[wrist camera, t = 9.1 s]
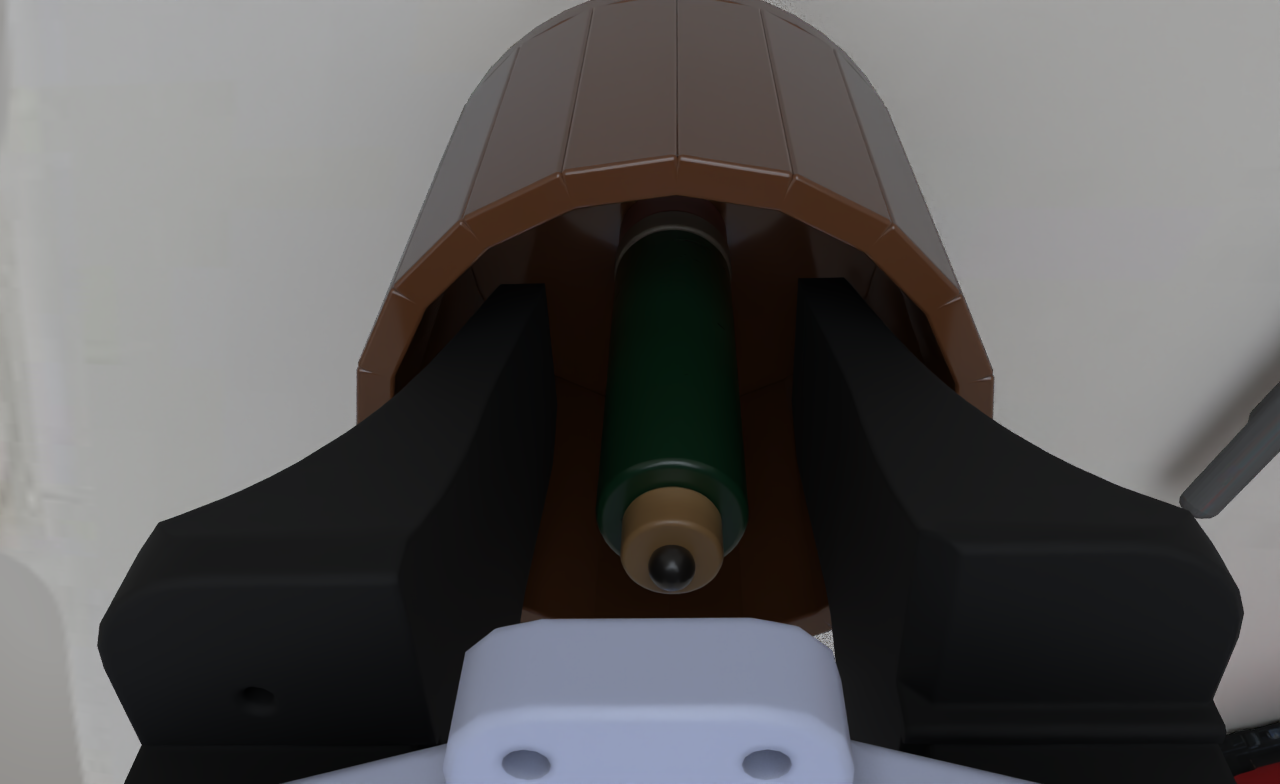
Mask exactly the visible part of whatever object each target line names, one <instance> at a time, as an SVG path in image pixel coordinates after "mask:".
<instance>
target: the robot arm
mask: <svg viewBox="0 0 1280 784" xmlns="http://www.w3.org/2000/svg"><path fill="white" fill-rule="evenodd" d="M792 410H793V422H794V434H795V444H796V455H797V463H798V468H799V472H800V477H801V481H802V486H803V490H804V495H805V499H806V504H807V508H808V513H809V517H810V521H811V526H812V530H813V534H814V539H815V543H816V547H817V552H818V556H819V561H820V565H821V569H822V574H823V578H824V582H825V587H826V592H827V598H828V603H829V609H830V615H831V623H832V632H833V641H834V650H835V658H834V655H833V652H832V650H831V649H830V648H828V647H827V646H826V645H824V644H823V643H821V642H820V641H818V640H817V639H816V638H814V637H813V636H811V635H810V634H809V633H807V632H806V631H804V630H803V629H801V628H800V627H798V626H794V625H790V624H784V623H778V622H773V621H767V620H761V619H756V618H605V619H540V620H535V621H530V622H525V623H520V621H521V614H522V608H523V602H524V596H525V590H526V585H527V581H528V576H529V572H530V567H531V563H532V558H533V554H534V549H535V545H536V540H537V536H538V531H539V527H540V522H541V517H542V513H543V508H544V504H545V499H546V494H547V490H548V485H549V480H550V476H551V471H552V466H553V456H554V444H555V431H556V418H557V396H556V386H555V377H554V367H553V357H552V348H551V338H550V328H549V319H548V309H547V299H546V289H545V283H539V284H500V285H499V286H498V287H497V288H496V289H495V290H494V291H493V292H492V294H491V295H490V296H489V297H488V298H487V299H486V300H485V302H484V303H483V304H482V305H481V306H480V307H479V309H478V310H477V311H476V312H475V313H474V315H473V316H472V317H471V318H470V319H469V320H468V322H467V323H466V324H465V325H464V326H463V327H462V328H461V330H460V331H459V332H458V333H457V334H456V335H455V336H454V337H453V338H452V339H451V341H450V342H449V343H448V344H447V345H446V346H445V347H444V348H443V349H442V350H441V351H440V352H439V353H438V354H437V356H436V357H435V358H434V359H433V360H432V361H431V362H430V363H429V364H428V365H427V366H426V367H425V368H424V369H423V370H422V371H421V372H420V373H419V374H418V375H417V376H415V377H414V378H413V379H412V380H411V381H410V382H409V383H408V384H407V385H406V386H405V387H404V388H403V389H402V390H401V391H400V392H398V393H397V394H396V395H395V396H394V397H392V398H391V399H390V400H389V401H388V402H386V403H385V404H384V405H383V406H381V407H380V408H379V409H378V410H376V411H375V412H374V413H372V414H371V415H370V416H368V417H367V418H366V419H364V420H363V421H362V422H360V423H359V424H358V425H356V426H355V427H353V428H352V429H351V430H349V431H348V432H346V433H345V434H343V435H341V436H340V437H338V438H337V439H335V440H333V441H332V442H330V443H329V444H327V445H325V446H324V447H322V448H320V449H319V450H317V451H316V452H314V453H312V454H311V455H309V456H307V457H306V458H304V459H303V460H301V461H299V462H297V463H296V464H294V465H292V466H290V467H288V468H286V469H284V470H282V471H281V472H279V473H277V474H275V475H273V476H271V477H269V478H267V479H265V480H263V481H261V482H258V483H256V484H254V485H252V486H250V487H248V488H246V489H244V490H242V491H239V492H237V493H235V494H232V495H230V496H228V497H225V498H223V499H220V500H218V501H215V502H213V503H210V504H207V505H205V506H202V507H199V508H197V509H194V510H192V511H189V512H186V513H184V514H181V515H179V516H176V517H173V518H170V519H167V520H165V521H162V522H159V523H158V524H157V526H156V527H155V529H154V530H153V532H152V533H151V535H150V536H149V538H148V539H147V541H146V542H145V544H144V545H143V547H142V548H141V550H140V551H139V553H138V555H137V557H136V559H135V560H134V562H133V564H132V566H131V568H130V570H129V571H128V573H127V575H126V577H125V579H124V580H123V582H122V584H121V586H120V588H119V590H118V591H117V593H116V595H115V597H114V599H113V601H112V602H111V604H110V606H109V608H108V610H107V612H106V613H105V615H104V617H103V619H102V621H101V623H100V626H99V635H98V644H97V646H98V650H99V653H100V656H101V660H102V663H103V667H104V669H105V671H106V673H107V675H108V677H109V679H110V681H111V684H112V686H113V688H114V690H115V692H116V694H117V696H118V698H119V700H120V702H121V704H122V706H123V708H124V710H125V712H126V714H127V716H128V718H129V720H130V722H131V724H132V726H133V728H134V730H135V732H136V734H137V736H138V738H139V740H140V742H141V744H142V746H141V748H140V750H139V752H138V754H137V756H136V759H135V761H134V763H133V765H132V767H131V769H130V772H129V774H128V776H127V778H126V780H125V783H124V784H1237V783H1236V781H1235V779H1234V777H1233V774H1232V772H1231V770H1230V768H1229V766H1228V764H1227V762H1226V760H1225V757H1224V755H1223V753H1222V751H1221V749H1220V747H1219V745H1218V743H1223V742H1224V739H1225V737H1226V727H1225V724H1224V722H1223V720H1222V718H1221V716H1220V714H1219V712H1218V710H1217V708H1216V706H1215V703H1214V701H1213V698H1214V695H1215V693H1216V690H1217V688H1218V686H1219V683H1220V681H1221V678H1222V676H1223V674H1224V671H1225V669H1226V666H1227V664H1228V662H1229V659H1230V657H1231V654H1232V652H1233V650H1234V647H1235V645H1236V642H1237V640H1238V638H1239V634H1240V629H1241V624H1242V620H1243V615H1244V611H1243V606H1242V601H1241V596H1240V591H1239V589H1238V587H1237V585H1236V583H1235V582H1234V580H1233V578H1232V576H1231V574H1230V573H1229V571H1228V569H1227V567H1226V565H1225V564H1224V562H1223V560H1222V558H1221V557H1220V555H1219V553H1218V552H1217V550H1216V548H1215V547H1214V545H1213V543H1212V542H1211V540H1210V539H1209V538H1208V536H1207V535H1206V533H1205V532H1204V531H1203V529H1202V528H1201V526H1200V525H1199V524H1198V522H1197V521H1196V519H1195V518H1194V516H1193V515H1192V513H1191V512H1190V511H1188V510H1185V509H1183V508H1180V507H1177V506H1174V505H1171V504H1168V503H1166V502H1163V501H1160V500H1157V499H1154V498H1151V497H1149V496H1146V495H1143V494H1140V493H1137V492H1134V491H1132V490H1129V489H1126V488H1123V487H1121V486H1118V485H1116V484H1113V483H1111V482H1109V481H1106V480H1104V479H1102V478H1100V477H1097V476H1095V475H1093V474H1091V473H1089V472H1086V471H1084V470H1082V469H1080V468H1077V467H1075V466H1073V465H1071V464H1069V463H1067V462H1065V461H1063V460H1061V459H1059V458H1057V457H1055V456H1053V455H1051V454H1049V453H1048V452H1046V451H1044V450H1042V449H1041V448H1039V447H1037V446H1035V445H1034V444H1032V443H1030V442H1028V441H1027V440H1025V439H1023V438H1021V437H1020V436H1018V435H1016V434H1014V433H1013V432H1011V431H1010V430H1008V429H1007V428H1005V427H1003V426H1002V425H1000V424H999V423H997V422H996V421H994V420H993V419H991V418H990V417H989V416H987V415H986V414H984V413H983V412H982V411H980V410H979V409H977V408H976V407H975V406H973V405H972V404H970V403H969V402H968V401H966V400H965V399H964V398H962V397H961V396H960V395H958V394H957V393H956V392H955V391H953V390H952V389H951V388H950V387H948V386H947V385H946V384H945V383H944V382H943V381H942V380H940V379H939V378H938V377H937V376H936V375H935V374H934V373H932V372H931V371H930V370H929V369H928V368H927V367H926V366H925V365H924V364H923V363H922V362H920V361H919V360H918V359H917V358H916V356H915V355H914V354H913V353H912V352H911V351H910V350H909V349H908V348H907V347H906V346H905V345H904V344H903V343H902V342H901V341H900V340H899V339H898V338H897V337H896V336H895V335H894V334H893V333H892V332H891V330H890V329H889V328H888V327H887V326H886V325H885V324H884V323H883V322H882V320H881V319H880V318H879V317H878V316H877V315H876V314H875V312H874V311H873V310H872V309H871V308H870V306H869V305H868V304H867V303H866V302H865V301H864V299H863V298H862V297H861V296H860V295H859V293H858V292H857V291H856V290H855V288H854V287H853V286H852V285H851V284H850V283H849V282H848V281H847V280H846V279H845V278H844V277H838V278H798V293H797V312H796V331H795V349H794V368H793V387H792ZM835 659H836V662H835Z"/></svg>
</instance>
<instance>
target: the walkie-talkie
mask: <svg viewBox="0 0 1280 784" xmlns="http://www.w3.org/2000/svg"><path fill="white" fill-rule="evenodd" d="M1279 452H1280V382H1279V383H1278V384H1277V385H1276V386H1275V387H1274V388H1273V389H1272V390H1271V391H1270V392H1269V393H1268V395H1267V396H1266V397H1265V398H1264V399H1263V400H1262V401H1261V402H1260V403H1259V404H1258V405H1257V406H1256V407H1255V408H1254V409H1253V411H1252V412H1251V413H1250V416H1249V420H1248V423H1247V424H1246V425H1245V427H1244V428H1243V429H1242V430H1241V431H1240V432H1239V433H1238V434H1237V435H1236V436H1235V437H1234V438H1233V439H1232V441H1231V442H1230V443H1229V444H1228V445H1227V446H1226V447H1225V448H1224V449H1223V450H1222V451H1221V452H1220V453H1219V455H1218V456H1217V457H1216V458H1215V459H1214V460H1213V461H1212V462H1211V463H1210V464H1209V465H1208V466H1207V467H1206V468H1205V470H1204V471H1203V472H1202V473H1201V474H1200V475H1199V476H1198V477H1197V478H1196V479H1195V480H1194V481H1193V482H1192V484H1191V485H1190V486H1189V487H1188V488H1187V489H1186V490H1185V491H1184V492H1183V493H1182V495H1181V496H1180V500H1179V503H1180V505H1181V507H1182V508H1183V509H1185V510H1188V511H1190V512H1191V513H1192V515H1193V516H1194V517H1195V518H1200V519H1203V518H1212V517H1214V516H1216V515H1218V514H1219V513H1220V512H1221V511H1222V510H1223V509H1224V508H1225V507H1226V505H1227V504H1228V503H1229V502H1230V501H1231V500H1232V499H1233V498H1234V497H1235V496H1236V495H1237V494H1238V493H1239V492H1240V491H1241V490H1242V489H1243V488H1244V487H1245V486H1246V485H1247V484H1248V483H1249V482H1250V481H1251V480H1252V479H1253V478H1254V477H1255V476H1256V475H1257V474H1258V473H1259V472H1260V471H1261V470H1262V469H1263V468H1264V467H1265V466H1266V465H1267V464H1268V463H1269V462H1270V461H1271V460H1272V459H1273V458H1274V457H1275V456H1276V455H1277V454H1278V453H1279Z"/></svg>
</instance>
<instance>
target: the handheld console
mask: <svg viewBox="0 0 1280 784" xmlns="http://www.w3.org/2000/svg"><path fill="white" fill-rule="evenodd" d="M1218 745H1219V747H1220V749H1221V751H1222V753H1223V755H1224V757H1225V760H1226V762H1227V764H1228V766H1229V768H1230V770H1231V772H1232V774H1233V777H1234V779H1235V781H1236V783H1237V784H1280V723H1276V724H1273V725H1269V726H1265V727H1261V728H1258V729H1254V730H1250V729H1248V730H1244V731H1240V732H1237V733H1233V734H1230V735H1227V736H1226V737H1225V739H1224V742H1223V743H1218Z"/></svg>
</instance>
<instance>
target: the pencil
mask: <svg viewBox="0 0 1280 784" xmlns="http://www.w3.org/2000/svg"><path fill="white" fill-rule="evenodd" d="M731 279H732V269H731V257H730V251H729V248H728V244H727V232H726V226H725V223H724V220H723V218H722V216H721V214H720V213H719V211H718V210H717V209H716V207H715V206H714V205H713V204H712V203H711V202H709V201H708V200H703V199H697V198H690V197H684V196H677V195H676V196H668V197H661V198H653V199H646V200H639V201H637V202H636V203H635V204H634V205H633V206H632V207H631V208H630V209H629V210H628V212H627V213H626V215H625V217H624V219H623V221H622V224H621V227H620V234H619V245H618V248H617V252H616V258H615V268H614V280H615V291H614V303H613V314H612V326H611V338H610V349H609V361H608V372H607V384H606V396H605V407H604V419H603V430H602V442H601V453H600V465H599V477H598V488H597V500H596V521H597V525H598V528H599V531H600V533H601V535H602V536H603V538H604V540H605V542H606V543H607V544H608V545H609V547H610V548H611V549H612V550H613V551H614V552H615V553H616V554H618V555H619V556H620V558H621V563H622V565H623V568H624V569H625V571H626V573H627V574H628V576H629V577H630V578H631V579H632V580H633V581H634V582H636V583H637V584H638V585H640V586H642V587H643V588H646V589H648V590H651V591H654V592H658V593H664V594H681V593H687V592H691V591H694V590H697V589H699V588H701V587H703V586H705V585H706V584H708V583H709V582H710V581H711V580H713V578H714V577H715V576H716V575H717V573H718V572H719V570H720V568H721V566H722V563H723V558H724V557H725V556H726V555H727V554H729V553H730V552H731V551H732V550H733V549H734V548H735V547H736V545H737V544H738V543H739V541H740V540H741V538H742V536H743V534H744V532H745V530H746V527H747V524H748V518H749V508H748V496H747V483H746V471H745V458H744V446H743V433H742V420H741V408H740V395H739V383H738V370H737V358H736V345H735V332H734V320H733V307H732V295H731Z"/></svg>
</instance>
